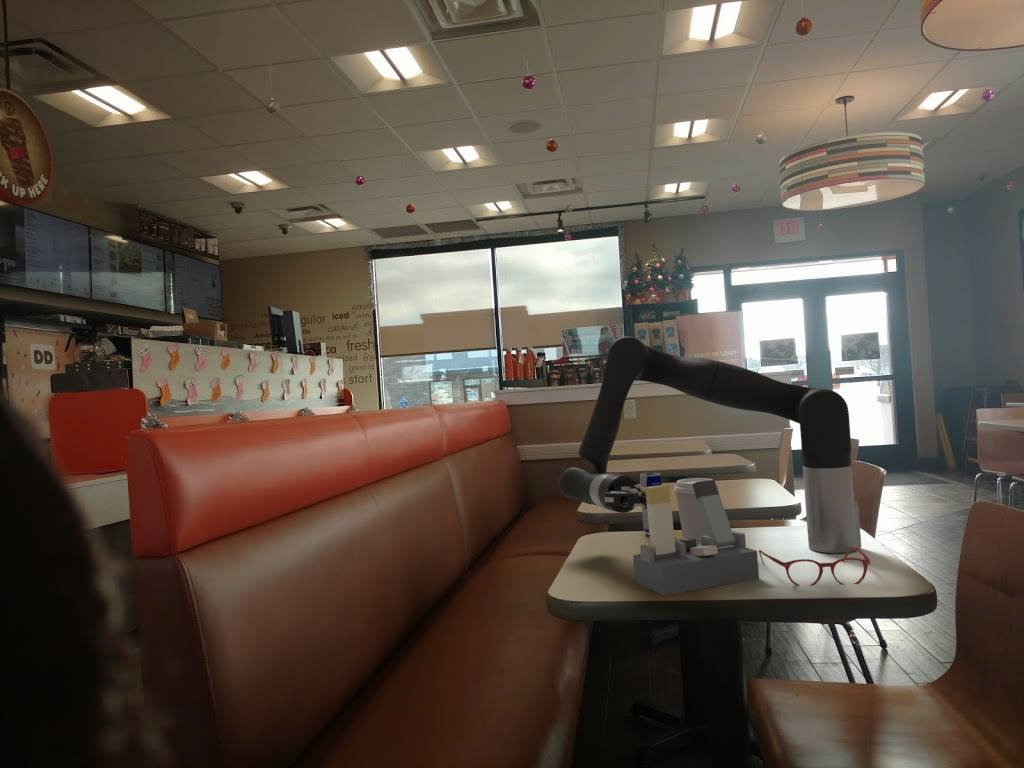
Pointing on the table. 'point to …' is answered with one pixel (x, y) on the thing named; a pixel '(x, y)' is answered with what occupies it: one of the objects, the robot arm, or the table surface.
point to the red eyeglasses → (822, 565)
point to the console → (696, 565)
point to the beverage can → (648, 481)
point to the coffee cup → (690, 509)
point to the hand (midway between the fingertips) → (656, 500)
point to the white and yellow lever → (660, 520)
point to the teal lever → (713, 513)
